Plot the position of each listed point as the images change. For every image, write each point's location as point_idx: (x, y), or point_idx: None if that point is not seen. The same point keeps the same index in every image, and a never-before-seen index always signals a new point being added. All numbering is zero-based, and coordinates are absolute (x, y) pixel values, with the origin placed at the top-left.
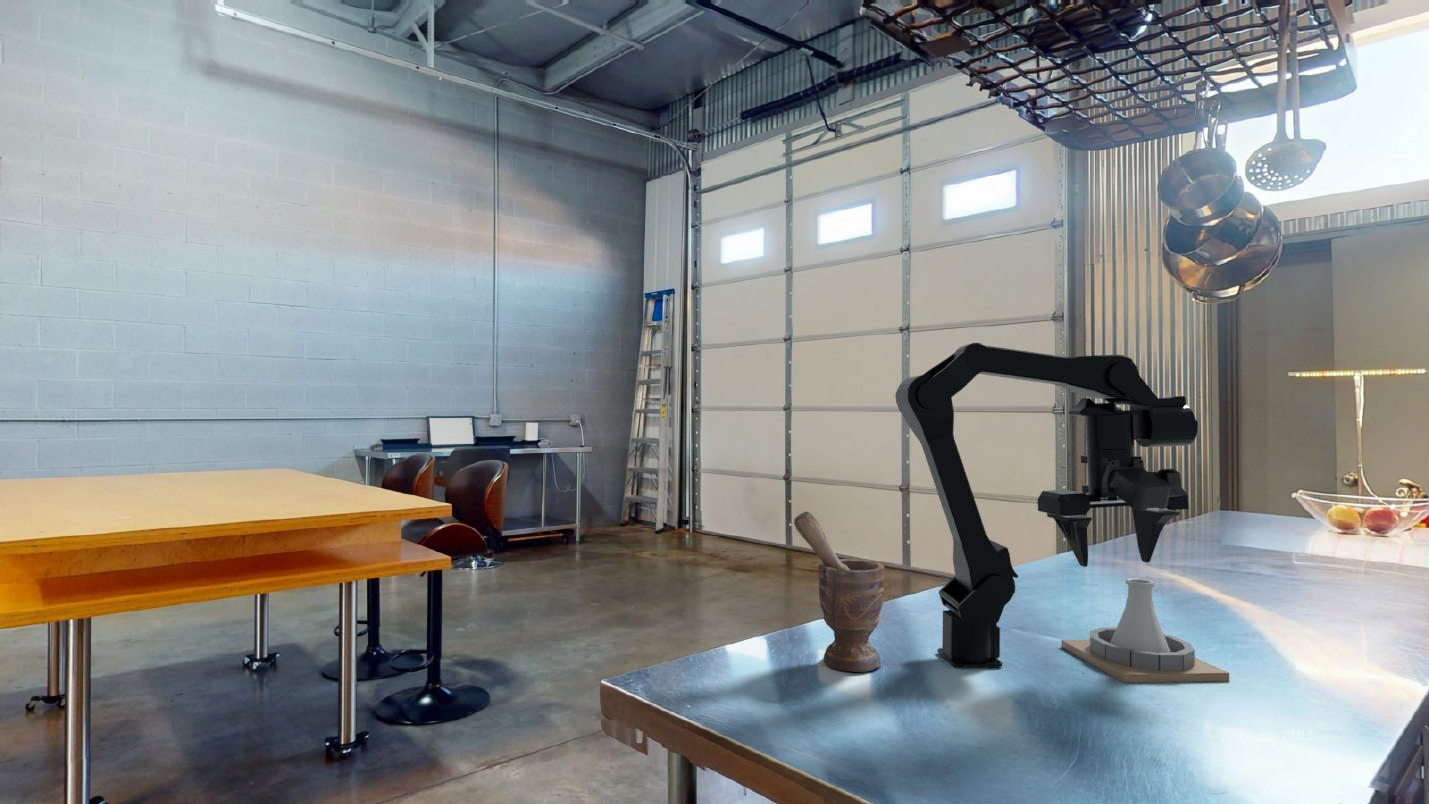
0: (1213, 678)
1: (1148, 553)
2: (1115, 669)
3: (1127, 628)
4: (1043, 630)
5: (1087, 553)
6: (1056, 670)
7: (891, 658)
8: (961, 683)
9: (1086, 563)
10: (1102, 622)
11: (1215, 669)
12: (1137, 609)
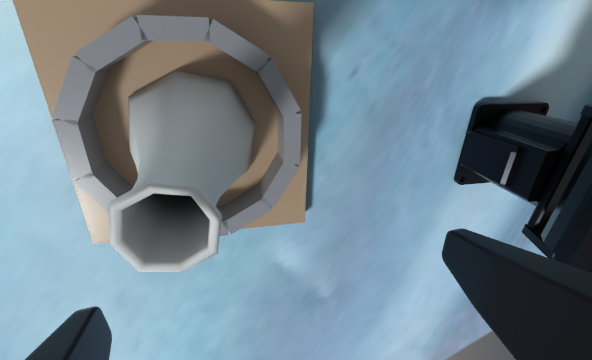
0: None
1: (67, 350)
2: (311, 40)
3: (234, 142)
4: (278, 295)
5: (516, 261)
6: (392, 89)
7: None
8: (583, 31)
9: (468, 233)
10: (136, 351)
11: (39, 20)
12: (207, 154)
